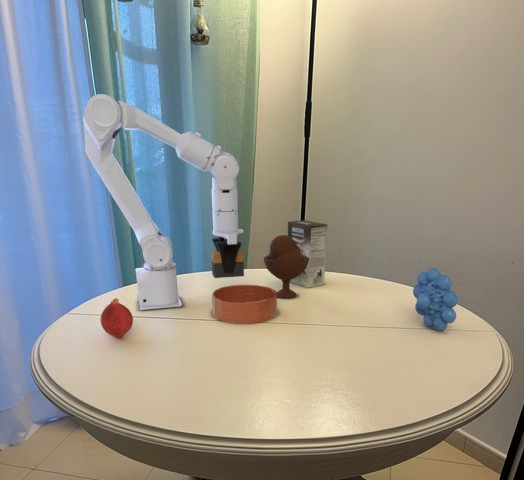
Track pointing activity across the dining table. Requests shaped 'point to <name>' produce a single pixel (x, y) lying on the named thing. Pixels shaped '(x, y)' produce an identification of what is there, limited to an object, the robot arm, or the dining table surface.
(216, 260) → the eraser
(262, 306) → the bowl
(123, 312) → the onion
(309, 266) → the coffee box
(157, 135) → the robot arm
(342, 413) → the dining table surface
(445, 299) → the grapes
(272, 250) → the ice cream bowl
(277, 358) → the dining table surface
